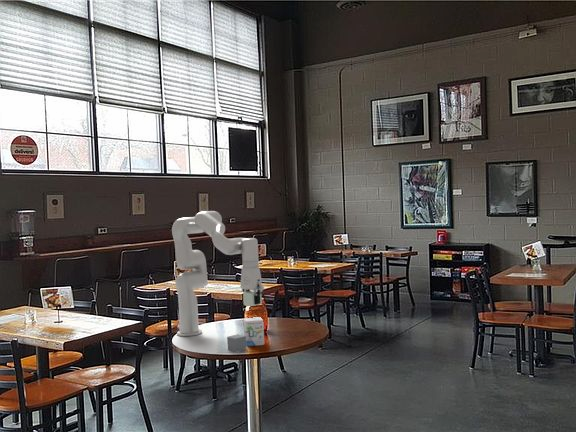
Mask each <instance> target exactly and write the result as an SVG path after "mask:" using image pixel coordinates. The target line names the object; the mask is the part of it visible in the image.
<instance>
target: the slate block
mask: <svg viewBox="0 0 576 432" xmlns="http://www.w3.org/2000/svg"><path fill="white" fill-rule="evenodd" d="M226 340H227V350H228V351H231V352H233V353H234V352H235V353H238V352H241V351H244V350H245V351H246V350H247V347H248V346H246V336H244V334H239V333H238V334H233V335H230V336H227V337H226Z"/></svg>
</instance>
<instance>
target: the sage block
mask: <svg viewBox="0 0 576 432" xmlns="http://www.w3.org/2000/svg"><path fill="white" fill-rule="evenodd" d="M242 296H243V298H242V299H243V306H245V307H246V306H247V307H251V306H256V305H263V300H262V298H263V297H262V294H261V295H260V304H255V303H254V296H255V293H254V290H250V291H248V292H243V291H242Z"/></svg>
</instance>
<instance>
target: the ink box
mask: <svg viewBox="0 0 576 432" xmlns="http://www.w3.org/2000/svg"><path fill="white" fill-rule="evenodd" d="M243 336H246V347H253V346H264V345H265V331H264V322H263V319H262V318H261V317H253V318H248V317H244V318H243Z"/></svg>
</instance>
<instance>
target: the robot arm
mask: <svg viewBox="0 0 576 432" xmlns="http://www.w3.org/2000/svg"><path fill="white" fill-rule="evenodd" d="M222 221H223V218H222V215H221V214H220V212H218V211H215V210H207V211H206V210H205V211H204V210H202V211H199V212H198V213H196V214H195V216H189V217H181V218H178V219H176V220H175V221H174V222H173V224H172V227H171V234H172V238H173V241H174V249H175V250H174V252H175V259H176V262H175V263H176V266H177V268H178V269H179V270H180V271H181V270H182V271H183V270H192V271H186V272H182V273H179V274H178V275H177V276H176V278H175V281H174V283H175V288H176V291H177V298H178V299H177V300H178V301H177V302H178V316H179V317H178V318H179V321H178V322H179V324H178V325H177V326H176V327H177V329H179V330H178V331H177V332H176V335H177V336H178V337H193V336H199V335H200V334H202V332H203V330H202V329H199V311H198V297H197V294H196V293H195V291H196V290H199V289H200V290H201V289H202V288H206V286H207V283H208V271H207V270H208V268H207V259H206V256H205V254H204V252H203V251H201V250H199V249H193V247H192V245H193V244H192V241H191V239H190V237H189V236H188V235H190V234H202V233H206V234H207V235H208V236H210V238H211V241H212V243H213V245H214V247H215V248H216V249H217V250H218V251H220V252H221V253H223V254H224V255H227V256H228V255H229V256H233V255H239V254H241V256H242V257H241V259H242V268H241V272H240V289H241V290H242V293H243V292H248V291H254V293H255V296H254V303H255V304H260V295H261V296H262V293H263V291H264V289H265V288H264V285H263V284H262V274H261V269H260V263H259V246H258V242H259V241H258V239H257V238H255V237H248V238H247V237H233V238H228V237H226V236H225V235H224V234H225V231H226V225H225V224H224V223H223V222H222ZM194 290H195V291H194Z"/></svg>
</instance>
